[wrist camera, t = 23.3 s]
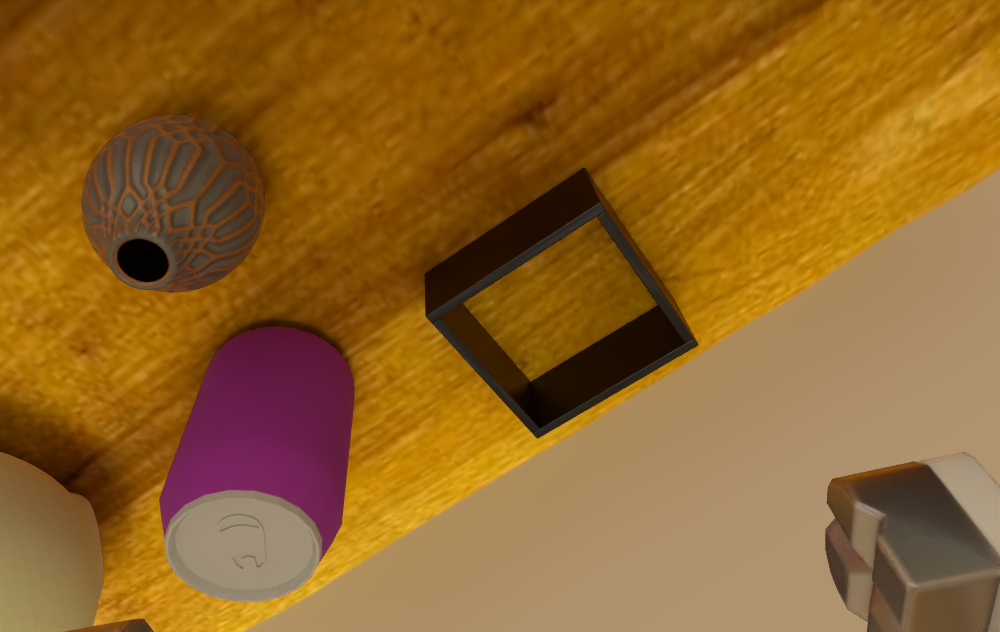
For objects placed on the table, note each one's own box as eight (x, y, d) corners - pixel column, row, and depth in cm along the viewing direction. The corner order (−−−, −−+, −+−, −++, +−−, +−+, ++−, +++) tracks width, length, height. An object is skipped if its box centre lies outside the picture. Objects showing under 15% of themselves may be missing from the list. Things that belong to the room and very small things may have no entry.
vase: (236, 76, 34) (188, 149, 27) (298, 217, 38) (270, 314, 31) (85, 120, 35) (-2, 203, 27) (161, 255, 39) (102, 360, 31)
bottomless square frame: (528, 392, 45) (537, 439, 42) (424, 274, 40) (425, 316, 37) (676, 303, 43) (698, 345, 39) (584, 167, 38) (600, 201, 35)
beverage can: (364, 427, 45) (350, 605, 35) (225, 438, 45) (170, 621, 35) (346, 311, 41) (324, 475, 31) (193, 322, 41) (120, 492, 31)
